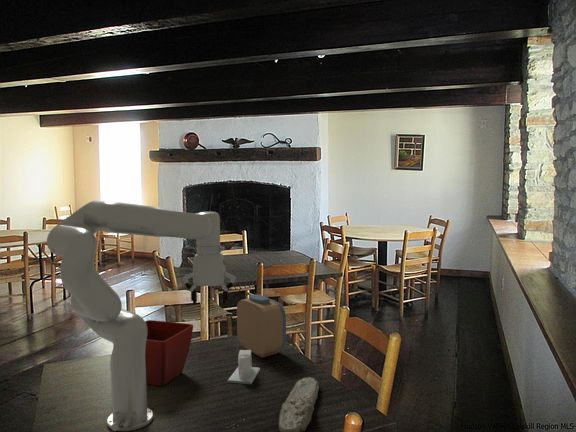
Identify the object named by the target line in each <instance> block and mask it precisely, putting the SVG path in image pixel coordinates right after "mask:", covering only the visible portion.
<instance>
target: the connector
mask: <svg viewBox="0 0 576 432" xmlns="http://www.w3.org/2000/svg"><path fill="white" fill-rule="evenodd" d="M237 363H238V366H237V368H238V372H239V378H241V379H247V378H249V377H250V375H251V370H252V367H253V366H252V365H253V363H252V352H251V350H247V349H240V350H239V352H238V356H237Z"/></svg>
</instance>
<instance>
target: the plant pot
mask: <svg viewBox="0 0 576 432" xmlns="http://www.w3.org/2000/svg"><path fill="white" fill-rule="evenodd" d="M144 321H145V322H146V325H147V329H148V334H147V341H146V349H145V363H146V385H151V386H152V385H153V386H158V387H163V386H166V385H167V384H168V383H169V382H171V381H172V380H174V379H175V378H177V377H179V375H181V374H182V373H183V371H184V368H185V364H186V362H187V359H188V355H189V352H190V351H189V350H190V347H191V342H192V338H193V337H192V336H193V330H194V324H192V323H191V324H190V323H183V322H173V321H165V320H164V321H163V320H155V319H148V320H144Z"/></svg>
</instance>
